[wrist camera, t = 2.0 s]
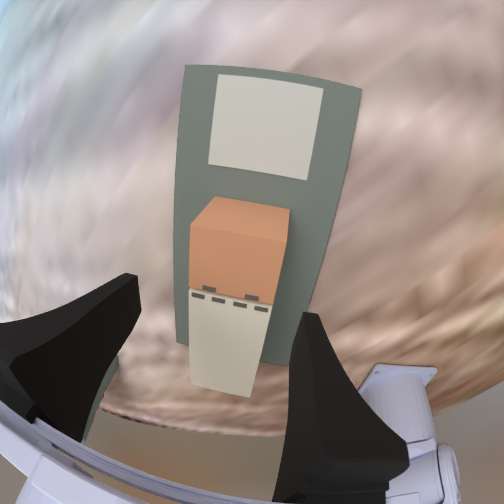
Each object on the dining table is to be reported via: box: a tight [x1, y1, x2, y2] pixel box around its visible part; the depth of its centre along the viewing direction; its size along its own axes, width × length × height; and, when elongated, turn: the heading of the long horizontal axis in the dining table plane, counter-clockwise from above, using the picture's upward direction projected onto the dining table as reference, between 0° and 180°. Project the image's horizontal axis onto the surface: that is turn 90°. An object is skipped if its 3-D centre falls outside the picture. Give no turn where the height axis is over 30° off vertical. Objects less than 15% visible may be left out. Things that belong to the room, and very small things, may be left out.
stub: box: [189, 196, 290, 304], centre depth 18 cm, size 4×5×5 cm
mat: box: [173, 65, 362, 366], centre depth 21 cm, size 24×11×1 cm, turn 172°
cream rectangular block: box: [189, 287, 273, 398], centre depth 21 cm, size 10×5×5 cm, turn 172°
